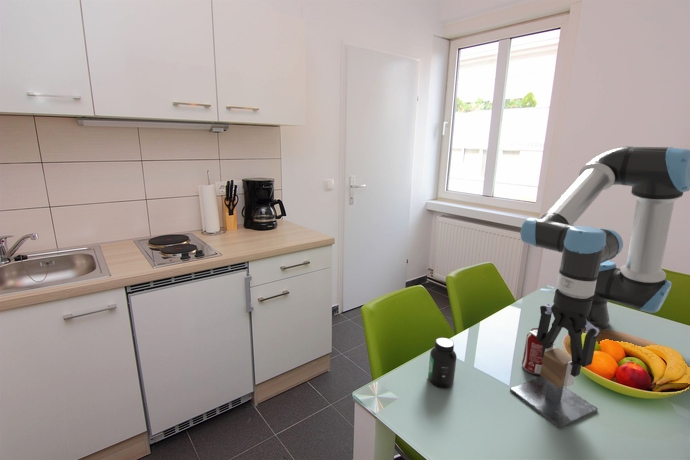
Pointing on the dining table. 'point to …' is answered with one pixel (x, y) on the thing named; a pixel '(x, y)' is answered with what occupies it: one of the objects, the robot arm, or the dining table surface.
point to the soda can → (532, 353)
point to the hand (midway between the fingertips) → (556, 377)
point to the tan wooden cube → (555, 366)
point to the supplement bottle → (442, 363)
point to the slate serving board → (553, 401)
